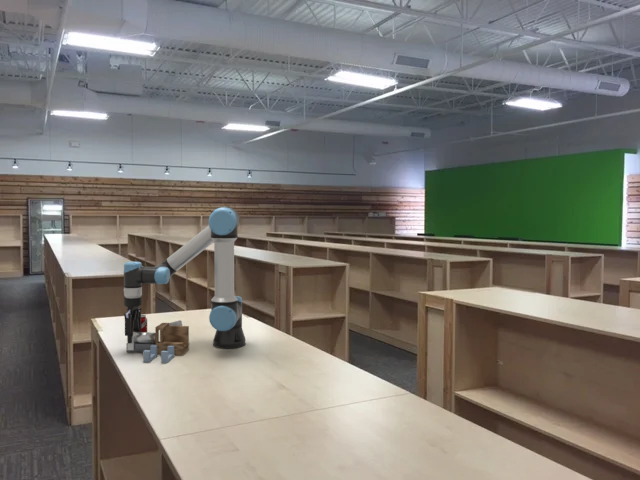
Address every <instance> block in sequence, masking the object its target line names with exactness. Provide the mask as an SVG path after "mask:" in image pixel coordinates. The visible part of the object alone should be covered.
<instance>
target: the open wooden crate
mask: <svg viewBox="0 0 640 480" xmlns="http://www.w3.org/2000/svg"><path fill="white" fill-rule="evenodd" d="M169 323H170V322H162V323H160V324H159V325H157V326H155V327H154V328H155V329H154V330H155V332H154V333H155V334H156V345H157V356H161V351H167V347H168V346H174V356H180V357H181V356H183V357H184V355H185V354H186V353H187V352H188V351H190V347H189V345H190V341H189V340H190V339H189V336H190V332H189V331H190V330H189V328H190V326H189V325H182V326H169Z"/></svg>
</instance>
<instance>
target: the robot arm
mask: <svg viewBox="0 0 640 480" xmlns="http://www.w3.org/2000/svg"><path fill="white" fill-rule="evenodd" d="M240 216H241V215H240V214H239V211H237V210H236V209H234V208H233V207H230V206H228V207H227V206H226V207H224V206H223V207H218V208H216V209H214V210H212V212H211V214H209V218H208V225H207V226H206V227H205V228H203V229H202V230H201V231H200V232H198V233H197V234H196V235H195V236H194V237H192V238H191V239H190V240H188V241H187V242H186V243H185V244H183V245H182V246H181V247H180V248H178V249H177V250H176V251H175V252H173V253H172V254H171V255H170V256H168V257H167V258H166V259H165V260H163V261H162V262H161V263H160V264H158V265H155V266H143V265H142V262H140V261H127V262H125V263H124V264H123V295H124V298H123V305H124V307H127V309H126V312H124V313H123V316H124V336H126V337H127V338H126V343H127V345H126V351H127V350H134V335H133V331H134V332H141V330H140V329H141V315H142V307H140V306H142V304H143V297H142V296H143V285H144V284H148V285H167V284H168V283H169V281H170V278H171V277H172V276H173V275H175V273H177V272H178V271H179V270H181V269H182V268H183V267H184V266H185V265H187V264H188V263H189V262H191V261H192V260H193V259H194V258H196V257H197V256H198V255H199V254H201V253H202V252H203V251H205V250H206V249H208V247H210V246H211V245H212V244H214V246H213V248H214V257H213V258H214V261H213V262H214V296H213V297H212V298H211V300H210V305H211V306H210V307H211V308H210V312H209V316H208V319H209V323H210V325H211V327H212V328H213V329H214V330H215V334H214V337H213V340H212V341H213V342H212V344H213V347H216V348H219V349H220V348H221V349H236V348H241V347H243V346H245V345H246V343H247V342H246V336H245V332H244V330H243V298H242V296H239V295H235V242H236V241H237V239H238V233H239V231H238V228H239V226H240V225H241V217H240Z"/></svg>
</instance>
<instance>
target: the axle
mask: <svg viewBox="0 0 640 480" xmlns="http://www.w3.org/2000/svg"><path fill="white" fill-rule="evenodd" d="M133 335H134V343H143V344H156V334H155V332H152V331H151V332H150V331H149V332H148V331H147V332H133Z"/></svg>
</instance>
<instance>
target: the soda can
mask: <svg viewBox="0 0 640 480" xmlns="http://www.w3.org/2000/svg"><path fill="white" fill-rule="evenodd" d="M140 330H141V332H148V317H147V314H141V329H140ZM133 332H134V331H133Z"/></svg>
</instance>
